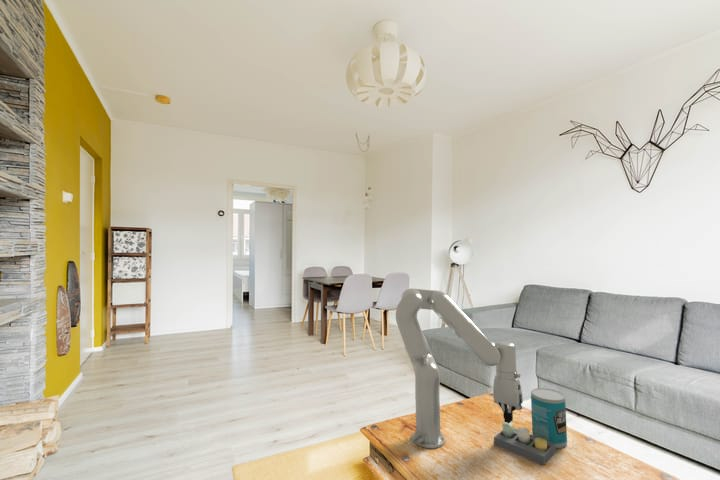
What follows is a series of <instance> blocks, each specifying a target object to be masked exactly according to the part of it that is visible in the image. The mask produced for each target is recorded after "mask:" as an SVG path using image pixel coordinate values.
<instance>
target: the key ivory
mask: <svg viewBox="0 0 720 480" xmlns="http://www.w3.org/2000/svg"><path fill="white" fill-rule="evenodd" d="M517 430H518V440H519V441H520V442H522V443H526V444H527V443H530V434H531V432H530V429H529V428H528V427H524V426H523V427H522V426H520V427H518V428H517Z"/></svg>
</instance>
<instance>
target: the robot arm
mask: <svg viewBox="0 0 720 480" xmlns="http://www.w3.org/2000/svg"><path fill="white" fill-rule="evenodd" d="M420 310H431V311H433V312H434V313H435V314H436V315H437V316H438V317H439V319H441V320H442V322H443V323H444V324H445V325H446V326H447V327H448V328H449V329H450V331H451V332H453V334H455V336H456V337H457V338H458V339H460V340H461V342H463V343H464V344H465V345H466V346H467V347H468V348H469V349H470V351H472V353H474V354H475V356H476V357H477V358H478V359H479V360H480V362H482V364H484V365H485V366H488V367H494V366H495V375H494V378H493V385H492V389H493V390H492V392H493V393H492V395H493V396H492V397H493V402H494V403H495V404H497V405H498V406H499V407H500V408H501V410H502V412H503V420H504V421H503V422H507V423H512V421H513V420H514V414H513V412H514V411H521V410H522V409H523V407H522V404H523V401H524V399H523V392H522V391H523V390H522V385H521V381H520V378H521V374H519V373H518V371H517V351H516V345H515V344H514V343H513V342H509V341H504V340H503V341H490V340H489V339H488V338H487V336H485V335H484V333H482V331H481V330H480V329H479V328H478V326H476V325H475V323H474V322H473V321H472V319H470V317H469V316H468V315H467V314H466V313H465V312H464V311H463V310H462V309H461V308H460V307H459V306H458V304H456V303H455V301H453V299H452V298H451V297H450V296H449V295H448V294H446V293H445V292H443V291H440V290H432V289H420V288H408V289H406V290H404V291H403V292H402V294H401V299H400V301H399V302H398V304H397V307H396V310H395V321H396V325H397V328H398V330H399V334H400V336H401V339H402V341H403V345H404V349H405V351H406V353H407V355H408V357H409V359H410V362H411V364H412V368H413V370H414V376H415V377H414V379H415V382H414V383H415V384H414V387H415V389H414V390H415V424H416V425H415V426H416V427H415V431H414V432H413V433H412V436H411V437H409V442H410V443H411V444H416V446H417V445H418V446H419V447H421V448H425V449H438V448H440V447H442V446H443V445H444V444H445V441H446V439H445V436H444V435H443V434H442V433H441V412H440V411H441V405H440V404H441V403H440V387H441V386H440V384H441V374H440V369H439V367H438V365H437V362H436V361H435V359H434V356H433V353H432V351H431V348H430V346H429V343H428V340H427V338H426V336H425V334H424V333H423V331H422V328H421V325H420V322H419V320H418V312H419V311H420Z"/></svg>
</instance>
